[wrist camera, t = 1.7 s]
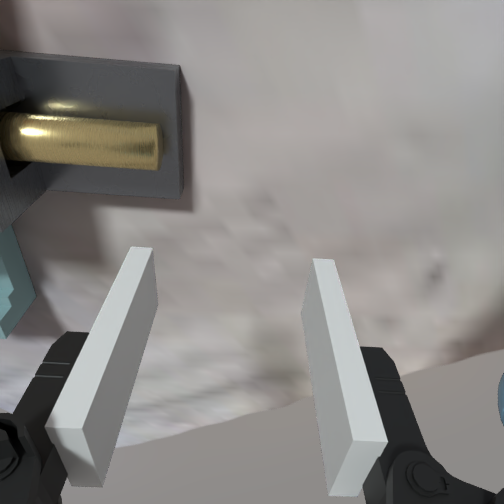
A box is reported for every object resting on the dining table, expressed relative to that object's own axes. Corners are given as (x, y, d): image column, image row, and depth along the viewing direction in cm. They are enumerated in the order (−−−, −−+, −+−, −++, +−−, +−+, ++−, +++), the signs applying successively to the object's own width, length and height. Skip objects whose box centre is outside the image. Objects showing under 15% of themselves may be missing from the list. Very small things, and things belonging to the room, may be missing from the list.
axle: (161, 117, 25) (151, 132, 22) (164, 160, 26) (155, 177, 24) (-117, 95, 24) (-160, 108, 22) (-96, 141, 26) (-133, 157, 23)
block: (179, 65, 25) (153, 91, 18) (183, 188, 30) (164, 242, 23) (-115, 39, 24) (-254, 58, 17) (-59, 170, 29) (-149, 222, 23)
